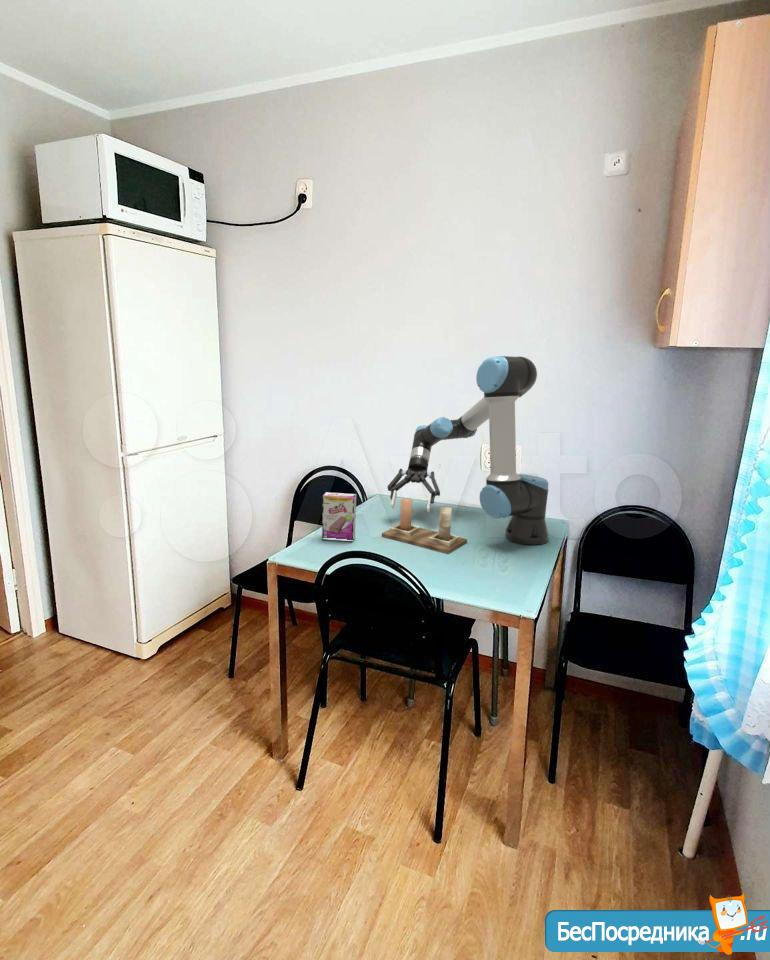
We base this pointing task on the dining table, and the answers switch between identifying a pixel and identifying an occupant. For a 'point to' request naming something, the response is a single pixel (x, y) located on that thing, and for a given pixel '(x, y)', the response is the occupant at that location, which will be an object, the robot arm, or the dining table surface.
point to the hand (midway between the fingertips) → (410, 508)
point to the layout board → (429, 535)
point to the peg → (406, 514)
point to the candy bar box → (339, 515)
